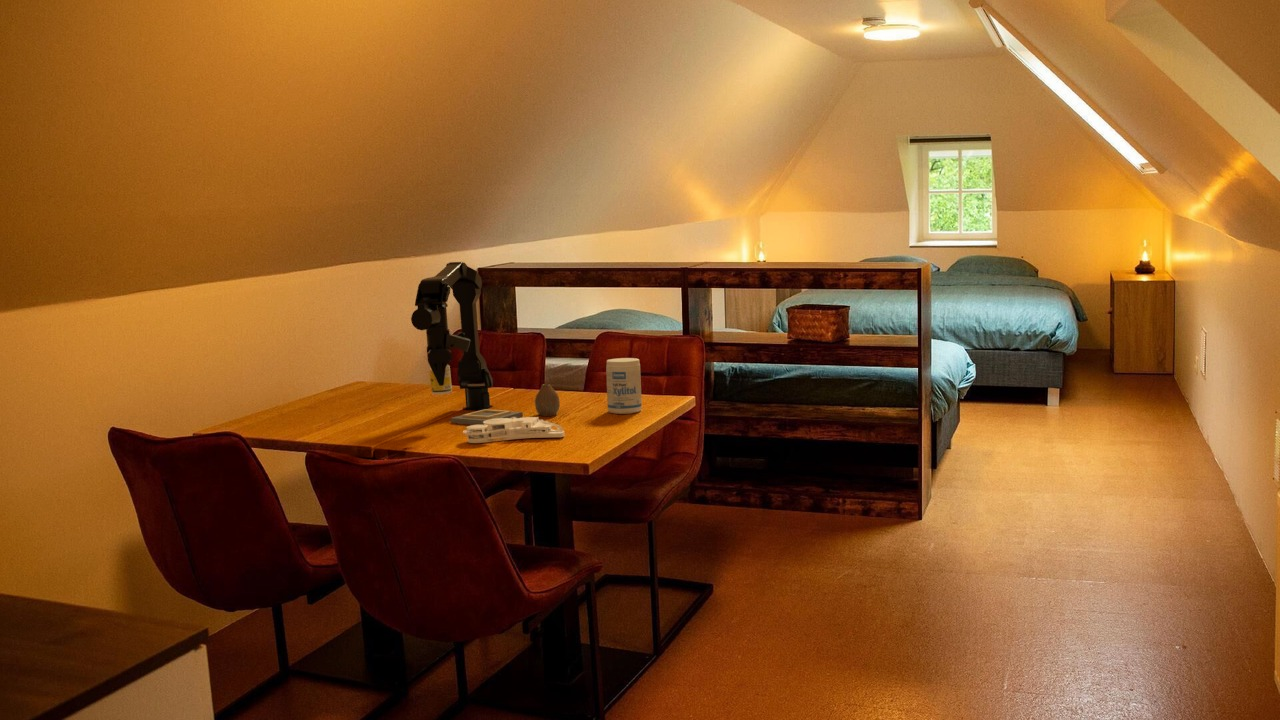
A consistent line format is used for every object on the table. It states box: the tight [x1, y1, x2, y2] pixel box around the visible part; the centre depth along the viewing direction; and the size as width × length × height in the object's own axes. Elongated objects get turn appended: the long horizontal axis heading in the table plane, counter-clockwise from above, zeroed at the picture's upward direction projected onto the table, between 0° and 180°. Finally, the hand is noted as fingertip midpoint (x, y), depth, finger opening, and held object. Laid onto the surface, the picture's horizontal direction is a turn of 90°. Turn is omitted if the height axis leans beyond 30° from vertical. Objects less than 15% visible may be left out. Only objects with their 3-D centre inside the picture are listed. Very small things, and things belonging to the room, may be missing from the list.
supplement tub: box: [605, 357, 643, 415], centre depth 310 cm, size 10×10×15 cm
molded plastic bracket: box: [462, 416, 566, 444], centre depth 287 cm, size 23×25×4 cm
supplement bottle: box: [429, 364, 453, 396], centre depth 297 cm, size 5×5×10 cm
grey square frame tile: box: [450, 408, 524, 426], centre depth 308 cm, size 14×14×2 cm
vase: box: [534, 383, 561, 417], centre depth 311 cm, size 7×7×9 cm
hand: (441, 383), depth 297 cm, fingers closed on supplement bottle, 5 cm apart
